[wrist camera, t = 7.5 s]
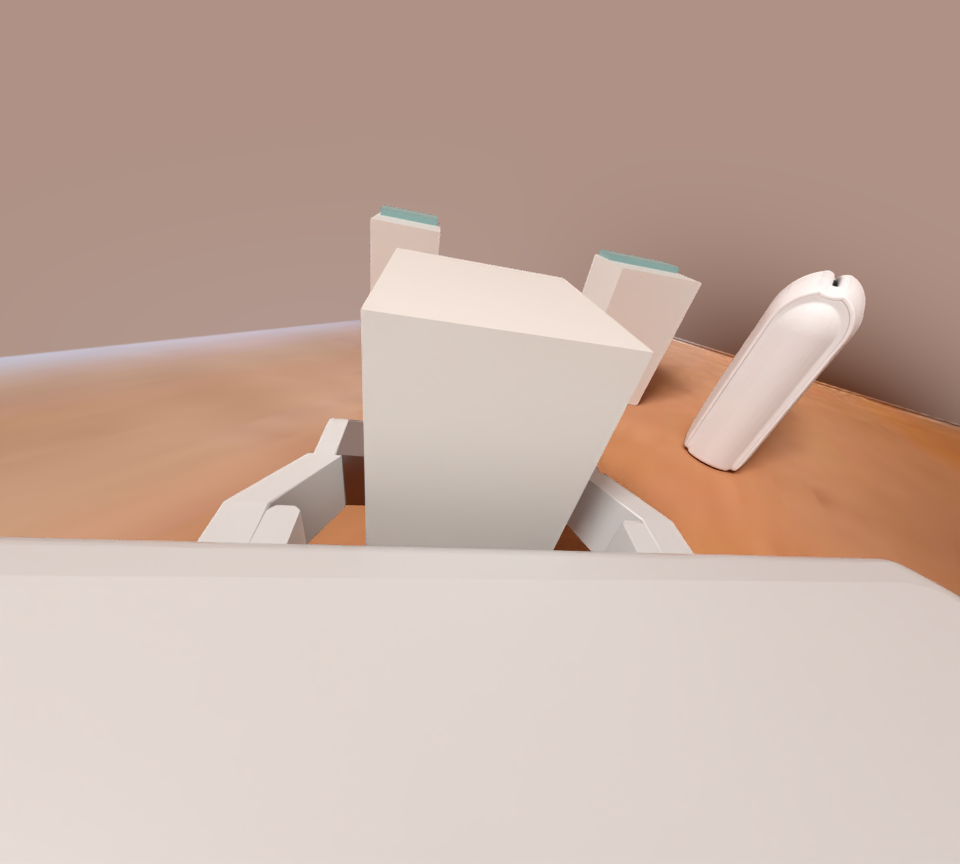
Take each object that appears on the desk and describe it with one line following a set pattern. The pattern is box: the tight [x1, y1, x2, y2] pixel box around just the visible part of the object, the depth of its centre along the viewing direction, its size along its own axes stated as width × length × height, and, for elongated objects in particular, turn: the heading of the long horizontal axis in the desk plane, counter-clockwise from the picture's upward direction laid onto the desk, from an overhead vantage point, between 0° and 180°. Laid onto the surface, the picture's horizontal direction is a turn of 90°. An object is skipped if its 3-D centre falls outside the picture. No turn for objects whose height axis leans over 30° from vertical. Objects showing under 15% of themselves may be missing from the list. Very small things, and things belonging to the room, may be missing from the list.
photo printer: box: [684, 271, 866, 471], centre depth 23 cm, size 10×4×12 cm, turn 139°
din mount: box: [370, 205, 701, 405], centre depth 27 cm, size 22×7×10 cm, turn 96°
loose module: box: [361, 248, 654, 550], centre depth 10 cm, size 4×5×11 cm
